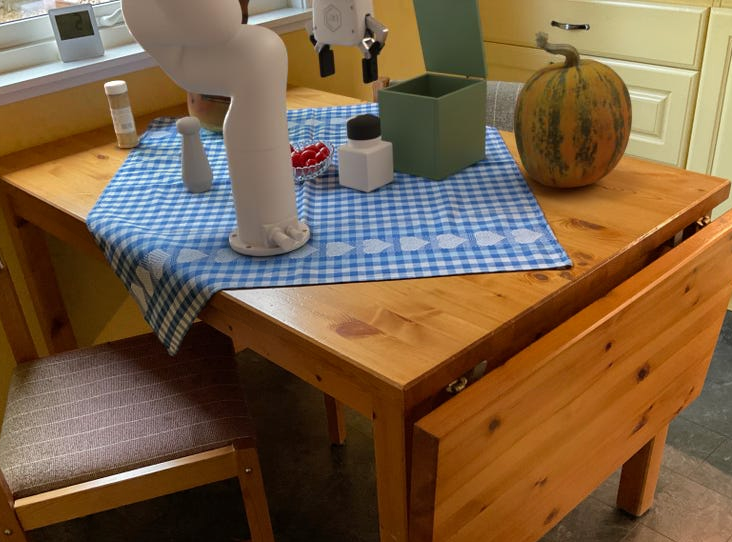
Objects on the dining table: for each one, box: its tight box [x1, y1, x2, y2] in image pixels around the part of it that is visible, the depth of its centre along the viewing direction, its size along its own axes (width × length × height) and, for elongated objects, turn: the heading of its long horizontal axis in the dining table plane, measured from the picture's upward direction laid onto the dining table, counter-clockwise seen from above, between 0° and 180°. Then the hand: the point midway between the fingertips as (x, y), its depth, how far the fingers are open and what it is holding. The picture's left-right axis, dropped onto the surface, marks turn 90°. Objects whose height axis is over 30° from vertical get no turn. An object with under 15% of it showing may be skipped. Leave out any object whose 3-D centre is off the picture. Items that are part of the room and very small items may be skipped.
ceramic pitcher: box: [186, 0, 251, 133], centre depth 173 cm, size 20×20×30 cm
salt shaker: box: [175, 116, 214, 194], centre depth 144 cm, size 6×6×13 cm
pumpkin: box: [513, 30, 633, 189], centre depth 131 cm, size 19×19×25 cm
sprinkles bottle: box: [103, 80, 140, 149], centre depth 170 cm, size 5×5×13 cm
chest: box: [376, 72, 488, 182], centre depth 147 cm, size 15×14×14 cm
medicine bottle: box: [336, 113, 395, 193], centre depth 140 cm, size 7×7×12 cm
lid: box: [412, 0, 489, 80], centre depth 143 cm, size 15×14×6 cm
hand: (348, 78), depth 135 cm, fingers open, 9 cm apart
